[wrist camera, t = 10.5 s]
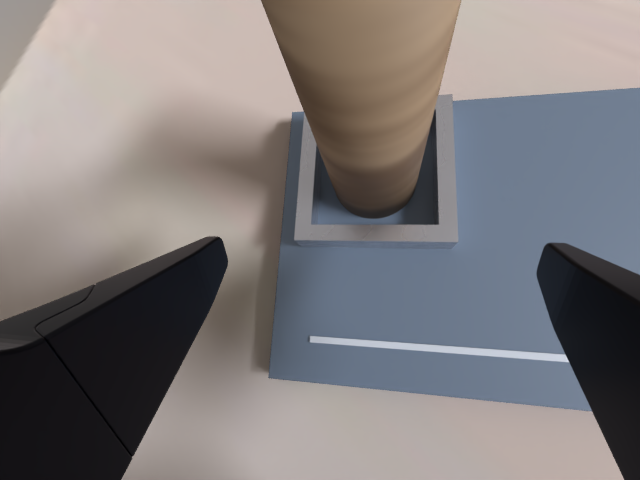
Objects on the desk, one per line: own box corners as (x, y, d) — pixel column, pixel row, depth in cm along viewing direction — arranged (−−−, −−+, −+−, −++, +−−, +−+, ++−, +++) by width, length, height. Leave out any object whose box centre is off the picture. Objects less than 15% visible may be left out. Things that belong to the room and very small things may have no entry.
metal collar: (451, 248, 16) (458, 242, 14) (301, 246, 17) (294, 240, 16) (446, 112, 18) (452, 94, 16) (310, 121, 19) (304, 105, 18)
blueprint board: (813, 428, 13) (852, 438, 12) (274, 375, 17) (267, 378, 16) (724, 94, 16) (747, 78, 15) (296, 122, 20) (291, 111, 19)
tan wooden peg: (432, 194, 17) (540, -79, 5) (355, 232, 17) (297, 55, 5) (391, 129, 18) (406, -206, 6) (321, 166, 18) (214, -92, 7)
